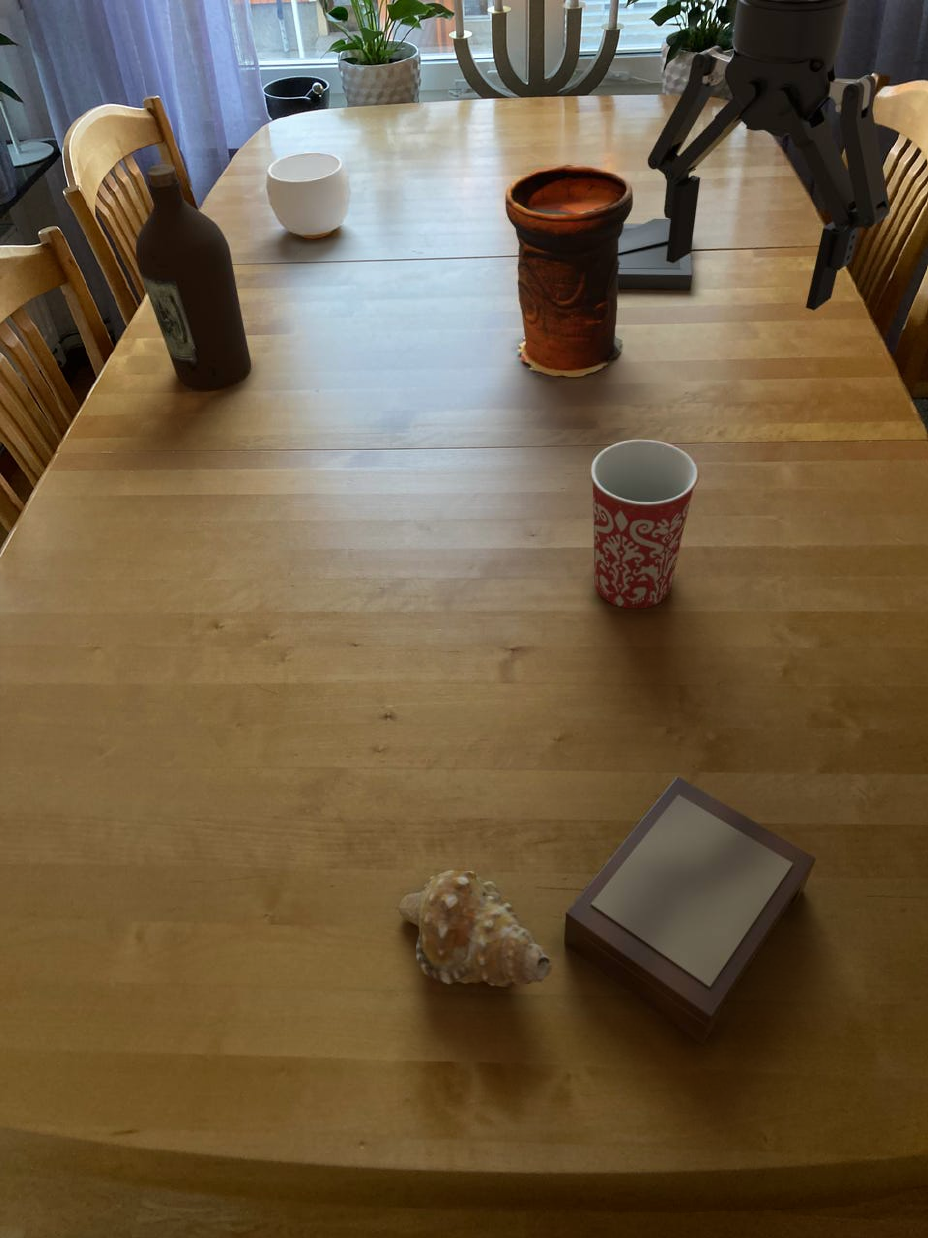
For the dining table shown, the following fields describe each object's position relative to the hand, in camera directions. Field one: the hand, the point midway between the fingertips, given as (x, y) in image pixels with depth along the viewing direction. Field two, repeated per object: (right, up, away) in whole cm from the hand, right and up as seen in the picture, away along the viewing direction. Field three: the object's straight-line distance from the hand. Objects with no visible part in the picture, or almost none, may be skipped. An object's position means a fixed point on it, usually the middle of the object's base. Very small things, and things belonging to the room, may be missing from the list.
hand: (745, 279), depth 82 cm
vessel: (-11, +5, +40) cm, 42 cm away
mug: (-7, -24, +11) cm, 28 cm away
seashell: (-23, -52, -14) cm, 59 cm away
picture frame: (-2, +22, +56) cm, 60 cm away
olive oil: (-56, +2, +41) cm, 69 cm away
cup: (-47, +31, +68) cm, 88 cm away
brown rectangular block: (-8, -50, -14) cm, 52 cm away
